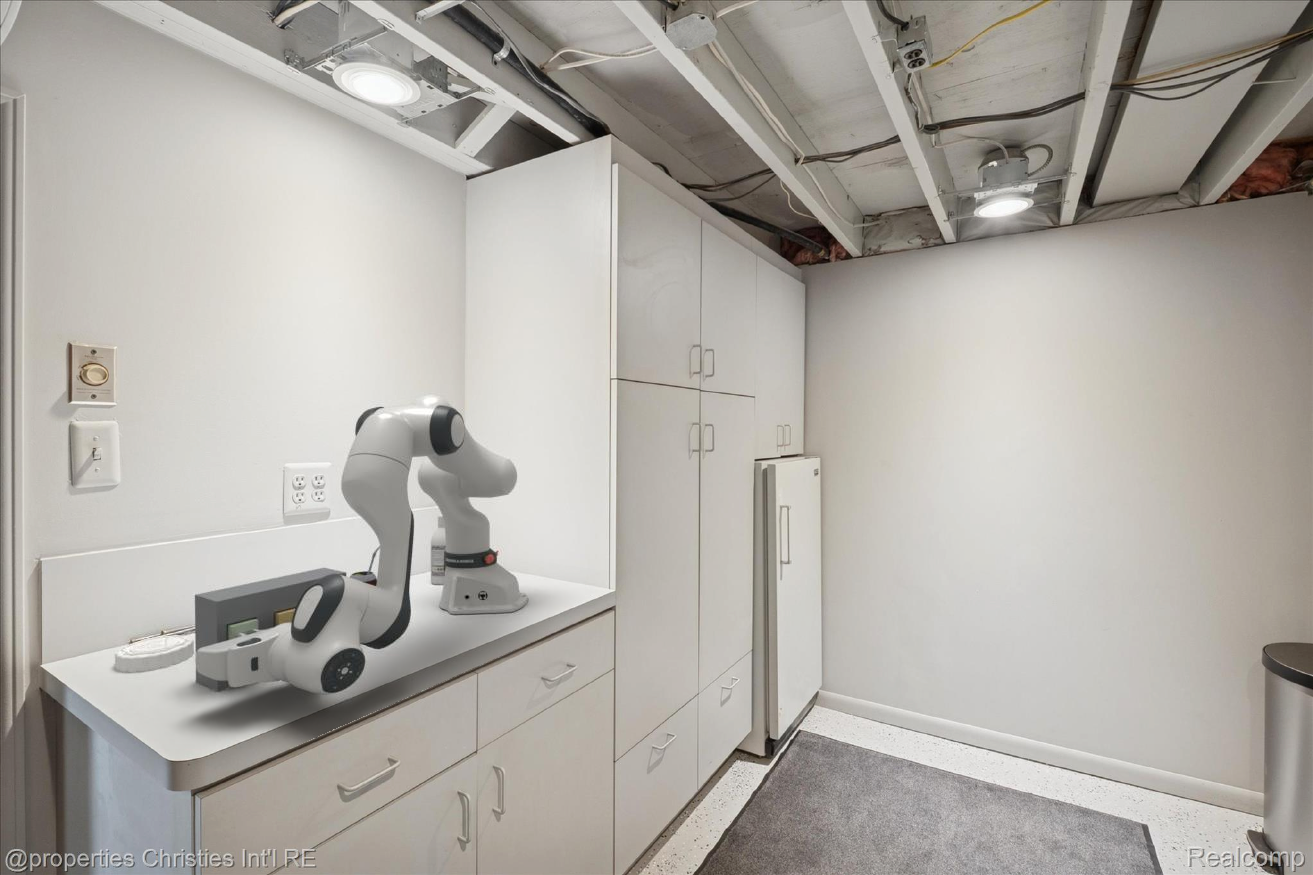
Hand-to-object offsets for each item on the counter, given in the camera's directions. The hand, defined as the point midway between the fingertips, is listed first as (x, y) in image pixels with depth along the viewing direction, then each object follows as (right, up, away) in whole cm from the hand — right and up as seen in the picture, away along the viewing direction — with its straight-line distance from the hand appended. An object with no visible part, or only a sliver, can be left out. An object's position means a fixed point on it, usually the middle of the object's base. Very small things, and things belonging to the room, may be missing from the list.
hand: (245, 635), depth 108 cm
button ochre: (+3, -2, +8) cm, 8 cm away
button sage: (-1, -2, +1) cm, 3 cm away
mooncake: (-26, -9, +11) cm, 29 cm away
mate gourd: (-2, -8, +49) cm, 50 cm away
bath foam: (+11, -7, +70) cm, 71 cm away
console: (-1, -9, +10) cm, 13 cm away
